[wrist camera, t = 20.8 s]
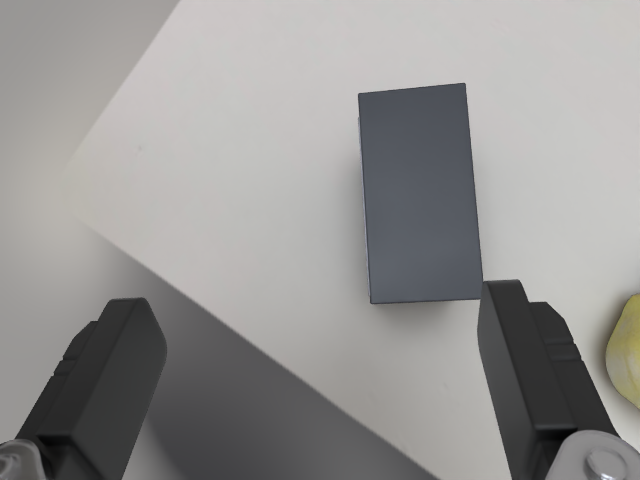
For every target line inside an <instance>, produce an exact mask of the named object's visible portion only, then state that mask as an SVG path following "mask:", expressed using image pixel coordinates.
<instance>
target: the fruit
mask: <svg viewBox="0 0 640 480" xmlns="http://www.w3.org/2000/svg"><path fill="white" fill-rule="evenodd" d="M606 367H607V371H608V374H609V376H610V379H611V381H612V383H613V385H614V387H615V388H616V389H617V391H618V392H619V393H620V394H621V395H622V396H624V397H625V398H626V399H628V400H629V401H630V402H632V403H633V404H634V405H635V406H636V407H637V408H638V409H639V410H640V294H635V295H633V296H632V297H631V298H630V299H629V301H628V302H627V303H626V305H625V307H624V309H623V312H622V315H621V317H620V319H619V321H618V323H617V324H616V327H615V329H614V331H613V333H612V335H611V337H610V340H609V342H608V344H607V349H606Z"/></svg>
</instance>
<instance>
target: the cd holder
mask: <svg viewBox="0 0 640 480" xmlns="http://www.w3.org/2000/svg"><path fill="white" fill-rule="evenodd" d="M358 103H359V118H358V126H359V143H360V160H361V177H362V194H363V211H364V227H365V244H366V261H367V278H368V295H369V296H370V303H371V304H390V303H412V302H433V301H455V300H477V299H481V291H482V284H483V273H482V262H481V250H480V239H479V228H478V217H477V206H476V195H475V184H474V172H473V161H472V150H471V139H470V128H469V117H468V106H467V94H466V84H465V83H458V84H448V85H438V86H428V87H418V88H408V89H398V90H388V91H378V92H368V93H359V94H358Z"/></svg>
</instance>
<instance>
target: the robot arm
mask: <svg viewBox="0 0 640 480" xmlns="http://www.w3.org/2000/svg"><path fill="white" fill-rule="evenodd" d="M477 335H478V345H479V351H480V356H481V360H482V363H483V367H484V371H485V375H486V379H487V383H488V387H489V391H490V395H491V399H492V403H493V406H494V410H495V414H496V418H497V422H498V426H499V430H500V434H501V438H502V442H503V446H504V450H505V453H506V457H507V461H508V465H509V469H510V473H511V477H512V480H640V453H639V452H638V451H637V450H636V449H634V448H633V447H632V446H631V445H630V444H628V443H627V442H625V441H624V440H622V439H621V437H620V436H619V435H618V433H617V432H616V430H615V428H614V427H613V425H612V423H611V421H610V418H609V416H608V414H607V412H606V410H605V407H604V405H603V403H602V401H601V399H600V396H599V394H598V392H597V390H596V388H595V386H594V383H593V381H592V379H591V377H590V375H589V372H588V370H587V368H586V366H585V364H584V361H582V360H581V355H580V353H579V350H578V348H577V346H576V344H574V342H573V337H572V335H571V333H570V331H569V329H568V326H567V324H566V322H565V320H564V318H562V317H561V316H560V315H559V314H558V313H557V312H556V311H555V310H554V309H553V308H552V307H551V306H550V305H549V304H548V303H547V302H529V301H528V299H527V296H526V293H525V291H524V288H523V286H522V284H521V282H520V281H519V280H518V279H516V280H496V281H484V282H483V284H482V291H481V300H480V308H479V317H478V327H477ZM166 355H167V345H166V340H165V337H164V335H163V333H162V331H161V328H160V327H159V324H158V322H157V320H156V318H155V316H154V314H153V312H152V309H151V308H150V305H149V303H148V302H147V300H146V299H145V298H123V299H112V300H110V301H109V302H108V303H107V305H106V307H105V308H104V310H103V312H102V314H101V316H100V317H99V319H98V321H91V322H90V323H89V324H88V325H87V326H86V327H85V328H84V329H83V330H82V331H81V332H79V333H78V334H77V335H76V336H75V337H74V339H73V340H72V342H71V343H70V345H69V347H68V349H67V350H66V352H65V354H64V355H63V360H62V361H60V362H59V364H58V366H57V368H56V369H55V371H54V376H51V378H50V379H49V381H48V383H47V385H46V386H45V388H44V390H43V392H42V393H41V395H40V397H39V398H38V400H37V402H36V403H35V405H34V407H33V409H32V410H31V412H30V414H29V416H28V417H27V419H26V421H25V423H24V424H23V426H22V428H21V429H20V431H19V433H18V434H17V436H16V437H15V439H14V440H10V441H7V442H4V443H2V444H0V480H121V479H122V477H123V474H124V472H125V469H126V466H127V464H128V461H129V458H130V455H131V453H132V450H133V447H134V445H135V442H136V440H137V437H138V434H139V431H140V429H141V426H142V423H143V421H144V418H145V415H146V413H147V410H148V407H149V404H150V402H151V399H152V397H153V394H154V391H155V388H156V386H157V383H158V380H159V378H160V375H161V372H162V370H163V367H164V364H165V361H166Z"/></svg>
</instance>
